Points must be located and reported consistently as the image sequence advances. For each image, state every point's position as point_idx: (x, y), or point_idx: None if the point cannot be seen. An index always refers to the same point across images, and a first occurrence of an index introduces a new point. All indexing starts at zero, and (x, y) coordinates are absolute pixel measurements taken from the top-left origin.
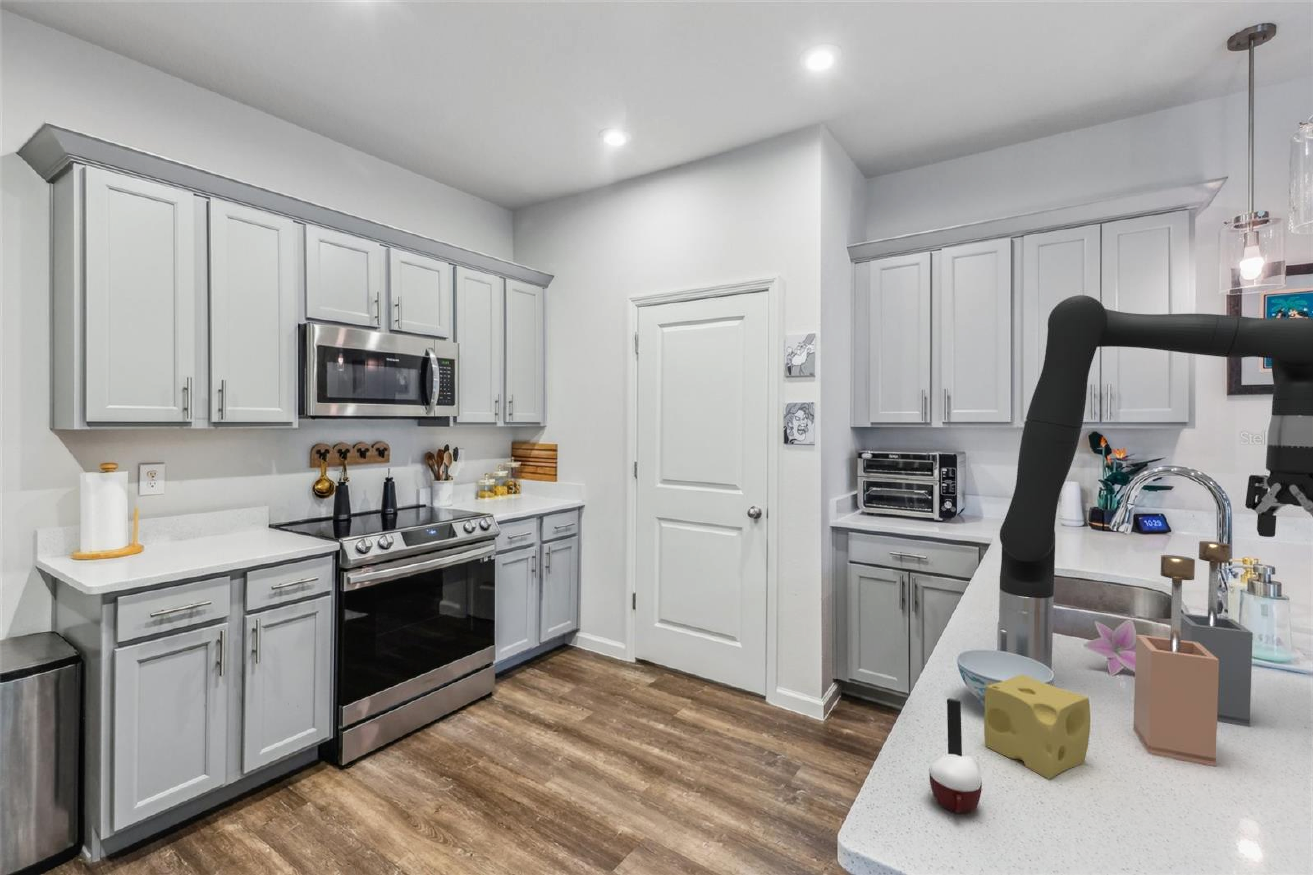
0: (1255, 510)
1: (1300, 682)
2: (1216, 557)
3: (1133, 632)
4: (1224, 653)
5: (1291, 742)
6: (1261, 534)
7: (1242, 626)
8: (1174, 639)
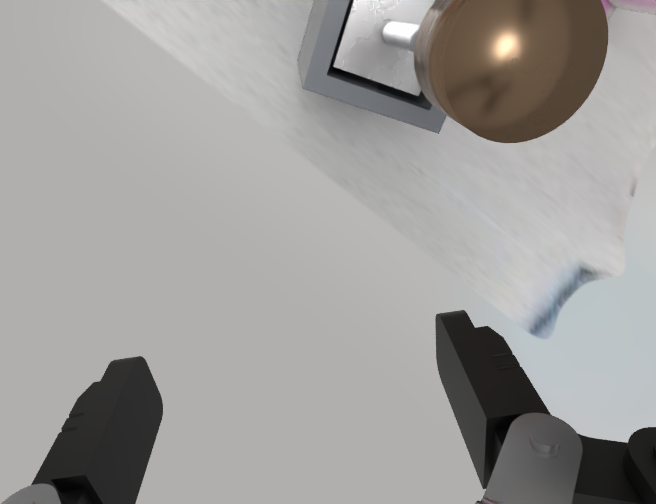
0: (575, 432)
1: (495, 302)
2: (433, 18)
3: (641, 4)
4: (318, 16)
5: (245, 92)
6: (443, 313)
7: (363, 105)
8: None
